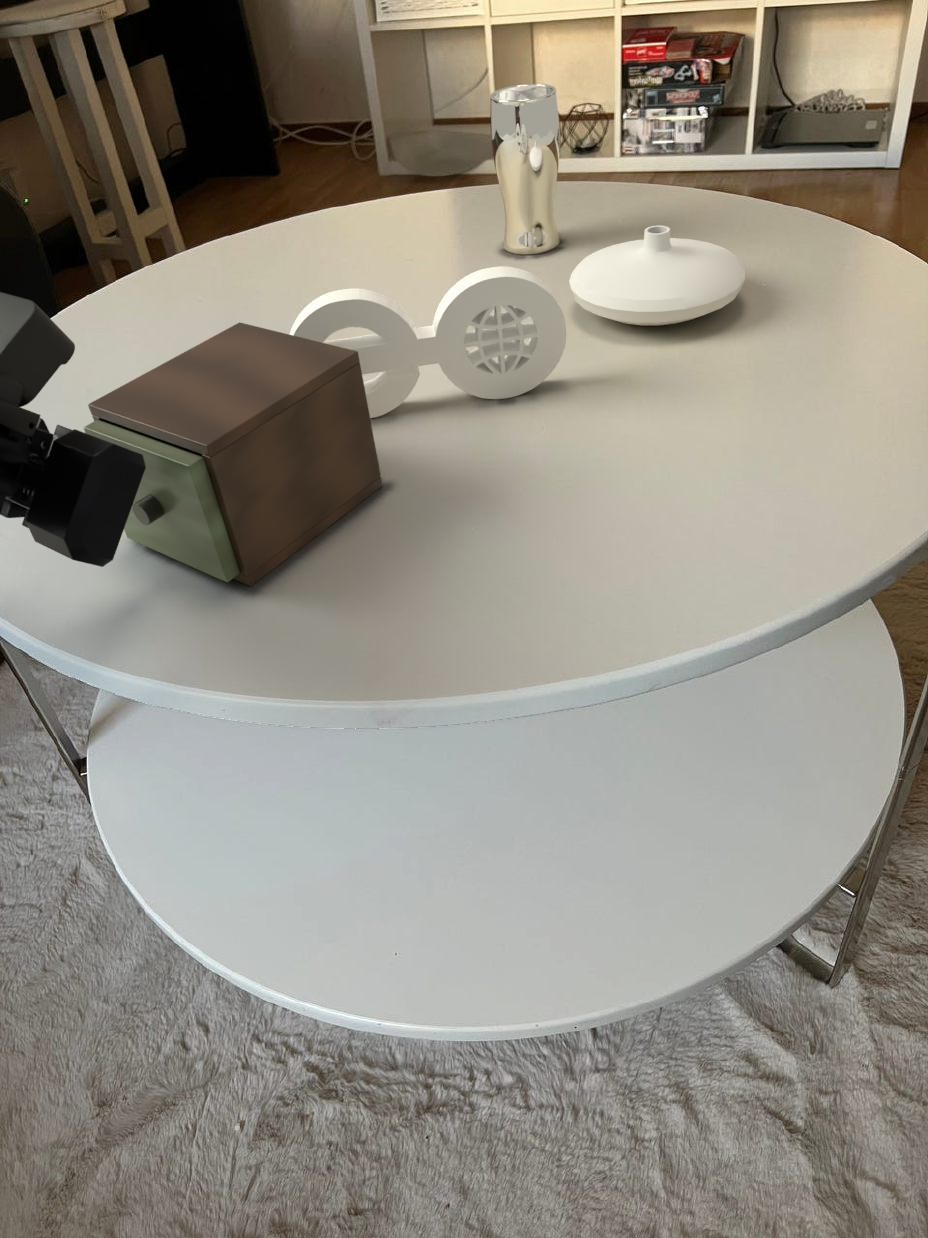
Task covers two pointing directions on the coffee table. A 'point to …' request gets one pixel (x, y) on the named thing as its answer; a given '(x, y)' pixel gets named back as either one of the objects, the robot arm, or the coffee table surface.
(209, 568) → the drawer
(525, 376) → the white flat cutout piece
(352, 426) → the cabinet
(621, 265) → the vase
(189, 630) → the coffee table surface
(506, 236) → the beer glass
